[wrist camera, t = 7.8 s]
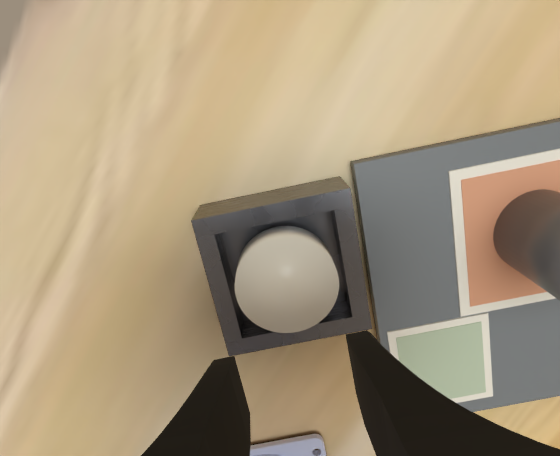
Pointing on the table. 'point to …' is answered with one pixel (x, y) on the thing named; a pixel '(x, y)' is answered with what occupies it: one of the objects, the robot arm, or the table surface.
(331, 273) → the button
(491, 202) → the picture board
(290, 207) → the button housing
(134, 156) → the table surface
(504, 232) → the grey canister
